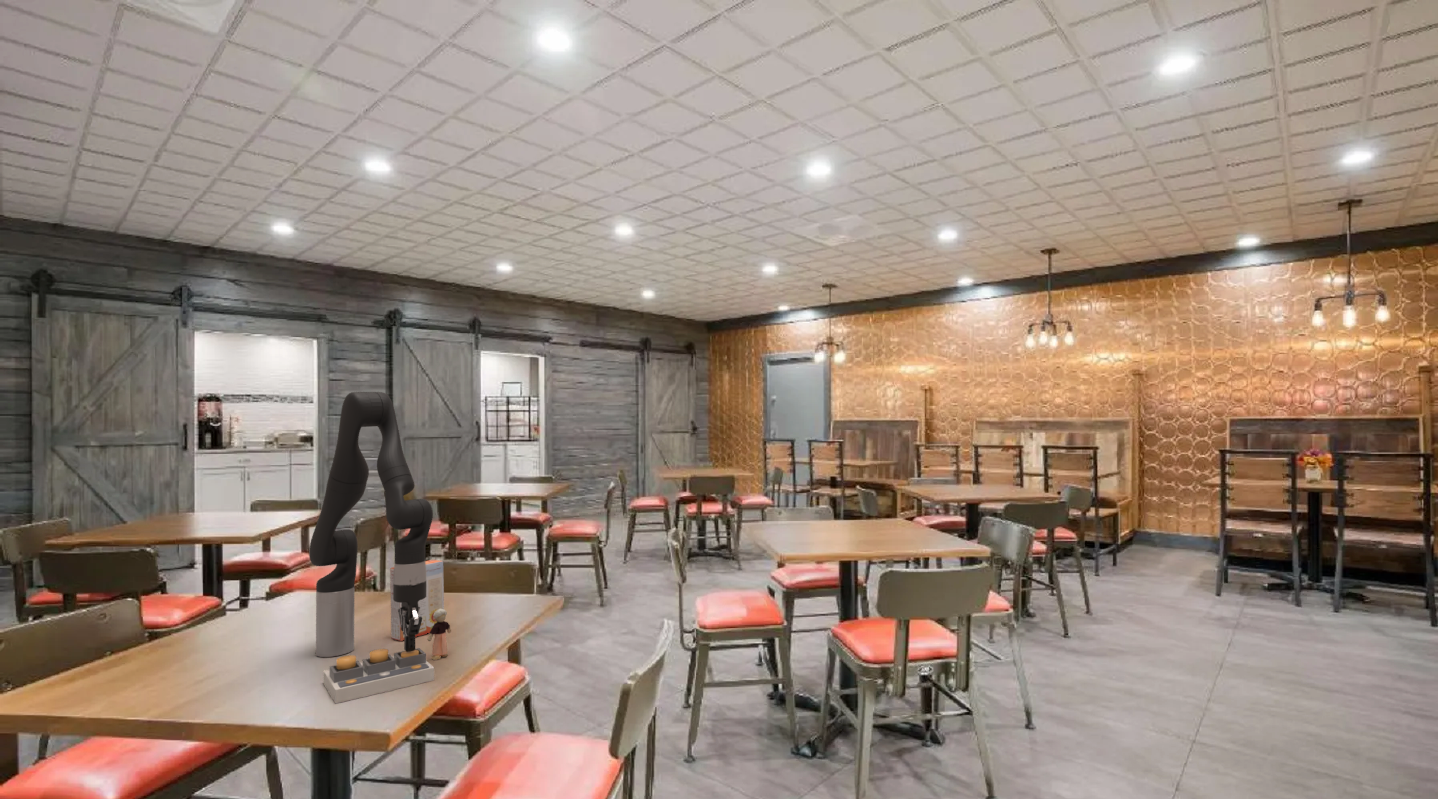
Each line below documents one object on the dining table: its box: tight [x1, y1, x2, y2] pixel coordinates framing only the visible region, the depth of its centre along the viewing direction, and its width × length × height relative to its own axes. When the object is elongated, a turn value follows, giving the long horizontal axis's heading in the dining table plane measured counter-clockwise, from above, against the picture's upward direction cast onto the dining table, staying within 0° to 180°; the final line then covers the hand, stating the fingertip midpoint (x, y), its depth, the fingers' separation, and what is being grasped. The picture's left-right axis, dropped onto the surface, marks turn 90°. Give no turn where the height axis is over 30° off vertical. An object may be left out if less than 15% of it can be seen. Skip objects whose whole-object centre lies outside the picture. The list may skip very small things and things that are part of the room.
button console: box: [322, 647, 435, 704], centre depth 162 cm, size 16×21×5 cm
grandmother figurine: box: [426, 608, 452, 661], centre depth 180 cm, size 8×4×13 cm, turn 168°
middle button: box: [369, 648, 389, 663], centre depth 162 cm, size 4×4×2 cm
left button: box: [336, 654, 357, 670], centre depth 158 cm, size 4×4×2 cm
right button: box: [401, 650, 419, 658], centre depth 167 cm, size 4×4×2 cm
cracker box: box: [389, 559, 445, 642], centre depth 201 cm, size 14×6×21 cm, turn 144°
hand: (409, 650), depth 167 cm, fingers closed
